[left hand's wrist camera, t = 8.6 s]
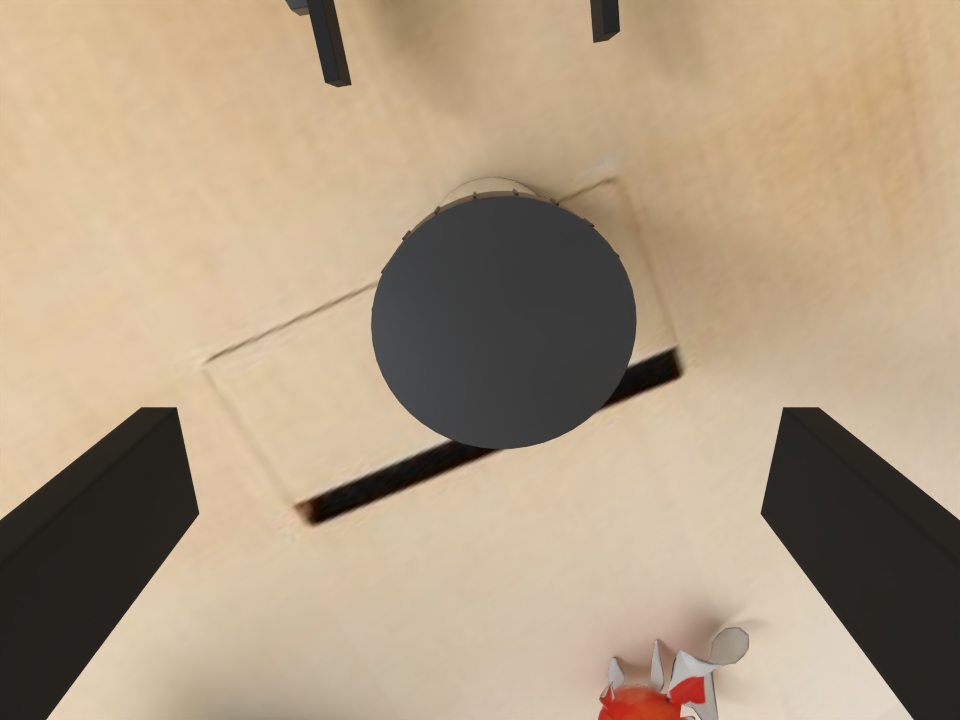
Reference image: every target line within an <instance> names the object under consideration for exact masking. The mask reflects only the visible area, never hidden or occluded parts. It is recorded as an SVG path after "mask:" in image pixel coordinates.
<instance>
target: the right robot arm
mask: <svg viewBox="0 0 960 720" xmlns="http://www.w3.org/2000/svg"><path fill="white" fill-rule="evenodd" d="M286 2H287V4H288V5H289V7H290V9H291V10H292V11H294V12H295V13H297V14H298V15H299V16H302V15H307V14H310V18H311V23H312V27H313V31H314V36H315V40H316V45H317V49H318V53H319V58H320V62H321V66H322V71H323V75H324V80H325V83H328V84H330V85H333V86H336V87H342V86H348V85H352V84H351V80H350V75H349V70H348V65H347V61H346V56H345V51H344V47H343V42H342V37H341V33H340V28H339V23H338V19H337V14H336V9H335V5H334V0H286ZM590 3H591V17H592V30H593V43H596V42H602V41H607V40H609V39H610V38H612V37H613V36H614V35H616V34H617V33H618V32H620V24H619V7H618V0H590Z"/></svg>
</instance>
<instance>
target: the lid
mask: <svg viewBox="0 0 960 720" xmlns="http://www.w3.org/2000/svg"><path fill="white" fill-rule="evenodd" d="M593 227H594V225H593V224H592V223H590V222H589V221H588V220H586V219H585V218H584V219H581V218H580V217H579V216H577V215H576V214H575V213H573V212H572V211H570V210H569V209H567V208H565V207H563V206H562V205H560V204H559V203H558V202H557V201H556V200H554V199H553V198H551V200H549V199H546V198H544V197H541V196H537V195H533V194H529V193H524V192H517V190H516V189H513V191H490V192H484V193H476V192H473V195H470V196H466V197H463V198H460V199H457V200H455V201H453V202H451V203H448V204H446V205H444V206H442V207H441V208H440V206H438V207H437V208H436V210H435V211H434V212H433V213H431V214H430V215H428V216H427V217H426V218H425V219H424V220H422V221H421V222H420V223H419V224H418V225H417V226H416V227H415V228H414V229H413V230H412V231H410V230H409V231H408V232H407V233H406V235H405V236H404V237H403V238H402V240H403V242H402V243H401V244H400V246H399V247H398V249H397V250H396V252H395V253H394V254H393V256H392V257H391V259H390V260H389V262H388V263H387V264H386V266H385V267H384V269H383V270H382V272H381V273H382V276H381V278H380V281H379V284H378V287H377V290H376V293H375V297H374V303H373V307H372V321H371V330H372V341H373V347H374V351H375V356H376V360H377V362H378V365H379V368H380V370H381V373H382V375H383V377H384V379H385V381H386V383H387V384H388V386H389V388H390V390H391V391H392V392H393V394H394V395H395V397H396V398H397V399H398V401H399V402H400V403H401V404H402V405H403V406H404V407H405V408H406V410H407V411H408V412H409V413H410V414H411V415H413V416H414V417H415V418H416V419H418V420H419V421H420V422H421V423H422V424H424V425H425V426H427V427H429V428H430V429H432V430H433V431H435V432H437V433H439V434H441V435H443V436H445V437H447V438H449V439H452V440H455V441H458V442H460V443H463V444H467V445H472V446H476V447H482V448H492V449H513V448H521V447H528V446H532V445H536V444H540V443H544V442H547V441H549V440H552V439H554V438H557V437H559V436H561V435H563V434H565V433H567V432H569V431H571V430H573V429H574V428H576V427H577V426H579V425H580V424H582V423H583V422H585V421H586V420H587V419H588V418H590V417H591V416H592V415H593V414H594V413H595V412H596V411H598V410H599V409H600V407H601V406H602V405H603V404H604V403H605V402H606V401H607V400H608V399H609V397H610V396H611V394H612V393H613V392H614V390H615V389H616V387H617V386H618V384H619V382H620V381H621V379H622V377H623V375H624V373H625V371H626V369H627V366H628V363H629V360H630V358H631V355H632V351H633V346H634V341H635V334H636V305H635V300H634V295H633V290H632V287H631V284H630V281H629V278H628V275H627V272H626V271H625V269H624V267H623V265H622V263H621V261H620V259H619V255H618V254H617V253H616V252H614V250H613V249H612V247H611V246H610V245H609V243H608V242H607V241H606V240H605V239H604V238H603V237H602V236H601V235H600V234H599V233H598V232H597V231H596V230H595V229H594V228H593Z"/></svg>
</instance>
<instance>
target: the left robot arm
mask: <svg viewBox="0 0 960 720" xmlns="http://www.w3.org/2000/svg"><path fill="white" fill-rule="evenodd" d="M198 515H199V510H198V505H197V500H196V496H195V491H194V486H193V482H192V477H191V472H190V467H189V463H188V458H187V453H186V449H185V444H184V439H183V435H182V430H181V425H180V421H179V416H178V411H177V407H141V408H140V409H139V410H137V411H136V412H135V413H134V414H132V415H131V416H130V417H129V418H127V419H126V420H125V421H124V422H122V423H121V424H120V425H119V426H117V427H116V428H115V429H114V430H112V431H111V432H110V433H109V434H107V435H106V436H105V437H104V438H102V439H101V440H100V441H99V442H97V443H96V444H95V445H94V446H92V447H91V448H90V449H89V450H87V451H86V452H85V453H84V454H82V455H81V456H80V457H79V458H77V459H76V460H75V461H74V462H72V463H71V464H70V465H69V466H67V467H66V468H65V469H64V470H62V471H61V472H60V473H59V474H57V475H56V476H55V477H54V478H52V479H51V480H50V481H49V482H47V483H46V484H45V485H44V486H42V487H41V488H40V489H39V490H37V491H36V492H35V493H34V494H32V495H31V496H30V497H29V498H27V499H26V500H25V501H24V502H22V503H21V504H20V505H19V506H17V507H16V508H15V509H14V510H12V511H11V512H10V513H9V514H7V515H6V516H5V517H4V518H2V519H1V520H0V720H46V719H47V718H48V717H49V715H50V714H51V713H52V711H53V710H54V708H55V707H56V706H57V704H58V703H59V702H60V700H61V699H62V698H63V696H64V695H65V694H66V692H67V691H68V690H69V688H70V687H71V686H72V684H73V683H74V682H75V680H76V679H77V678H78V676H79V675H80V674H81V672H82V671H83V670H84V668H85V667H86V665H87V664H88V663H89V661H90V660H91V659H92V657H93V656H94V655H95V653H96V652H97V651H98V649H99V648H100V647H101V645H102V644H103V643H104V641H105V640H106V639H107V637H108V636H109V635H110V633H111V632H112V631H113V629H114V628H115V626H116V625H117V624H118V622H119V621H120V620H121V618H122V617H123V616H124V614H125V613H126V612H127V610H128V609H129V608H130V606H131V605H132V604H133V602H134V601H135V600H136V598H137V597H138V596H139V594H140V593H141V592H142V590H143V589H144V587H145V586H146V585H147V583H148V582H149V581H150V579H151V578H152V577H153V575H154V574H155V573H156V571H157V570H158V569H159V567H160V566H161V565H162V563H163V562H164V561H165V559H166V558H167V557H168V555H169V554H170V553H171V551H172V550H173V548H174V547H175V546H176V544H177V543H178V542H179V540H180V539H181V538H182V536H183V535H184V534H185V532H186V531H187V530H188V528H189V527H190V526H191V524H192V523H193V522H194V520H195V519H196V518H197V516H198ZM761 515H762V516H763V518H764V519H765V520H766V522H767V523H768V524H769V526H770V527H771V528H772V530H773V531H774V532H775V534H776V535H777V536H778V538H779V539H780V540H781V542H782V543H783V544H784V546H785V547H786V548H787V550H788V551H789V553H790V554H791V555H792V557H793V558H794V559H795V561H796V562H797V563H798V565H799V566H800V567H801V569H802V570H803V571H804V573H805V574H806V575H807V577H808V578H809V579H810V581H811V582H812V583H813V585H814V586H815V587H816V589H817V590H818V592H819V593H820V594H821V596H822V597H823V598H824V600H825V601H826V602H827V604H828V605H829V606H830V608H831V609H832V610H833V612H834V613H835V614H836V616H837V617H838V618H839V620H840V621H841V622H842V624H843V625H844V626H845V628H846V629H847V631H848V632H849V633H850V635H851V636H852V637H853V639H854V640H855V641H856V643H857V644H858V645H859V647H860V648H861V649H862V651H863V652H864V653H865V655H866V656H867V657H868V659H869V660H870V661H871V663H872V664H873V665H874V667H875V668H876V670H877V671H878V672H879V674H880V675H881V676H882V678H883V679H884V680H885V682H886V683H887V684H888V686H889V687H890V688H891V690H892V691H893V692H894V694H895V695H896V696H897V698H898V699H899V700H900V702H901V703H902V704H903V706H904V707H905V708H906V710H907V711H908V713H909V714H910V715H911V717H912V718H913V719H914V720H960V520H959V519H958V518H956V517H955V516H954V515H953V514H951V513H950V512H949V511H948V510H946V509H945V508H944V507H943V506H941V505H940V504H939V503H938V502H936V501H935V500H934V499H933V498H931V497H930V496H929V495H928V494H926V493H925V492H924V491H923V490H921V489H920V488H919V487H918V486H916V485H915V484H914V483H913V482H911V481H910V480H909V479H908V478H906V477H905V476H904V475H903V474H901V473H900V472H899V471H898V470H896V469H895V468H894V467H893V466H891V465H890V464H889V463H888V462H886V461H885V460H884V459H883V458H881V457H880V456H879V455H878V454H876V453H875V452H874V451H873V450H871V449H870V448H869V447H868V446H866V445H865V444H864V443H863V442H861V441H860V440H859V439H858V438H856V437H855V436H854V435H853V434H851V433H850V432H849V431H848V430H846V429H845V428H844V427H843V426H841V425H840V424H839V423H838V422H836V421H835V420H834V419H833V418H831V417H830V416H829V415H828V414H826V413H825V412H824V411H823V410H821V409H820V408H819V407H783V411H782V416H781V421H780V425H779V430H778V435H777V439H776V444H775V449H774V453H773V458H772V463H771V467H770V472H769V477H768V482H767V486H766V491H765V496H764V500H763V505H762V510H761Z"/></svg>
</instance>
